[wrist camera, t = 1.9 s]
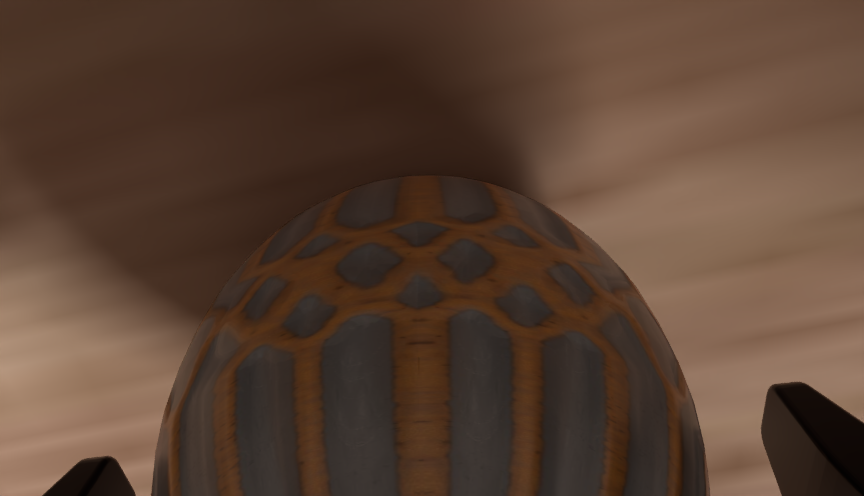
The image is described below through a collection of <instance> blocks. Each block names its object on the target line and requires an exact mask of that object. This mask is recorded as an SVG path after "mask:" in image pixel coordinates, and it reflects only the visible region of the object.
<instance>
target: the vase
mask: <svg viewBox="0 0 864 496" xmlns="http://www.w3.org/2000/svg"><path fill="white" fill-rule="evenodd" d="M151 496H710V488H709V478H708V470H707V463H706V455H705V448H704V443H703V438H702V434H701V430H700V426H699V421H698V417H697V413H696V409H695V405H694V402H693V399H692V396H691V393H690V391H689V388H688V385H687V383H686V380H685V378H684V375H683V373H682V370H681V368H680V365H679V362H678V360H677V358H676V356H675V354H674V352H673V350H672V348H671V346H670V344H669V342H668V340H667V338H666V336H665V334H664V332H663V330H662V328H661V327H660V325H659V323H658V321H657V319H656V318H655V316H654V315H653V313H652V311H651V310H650V308H649V307H648V305H647V303H646V302H645V300H644V299H643V297H642V295H641V294H640V292H639V291H638V289H637V288H636V286H635V285H634V284H633V282H632V281H631V280H630V279H629V277H628V276H627V275H626V274H625V272H624V271H623V270H622V269H621V268H620V267H619V266H618V265H617V264H616V263H615V262H614V261H613V260H612V259H611V258H610V256H609V255H608V254H607V253H606V252H605V251H604V250H603V249H602V248H601V247H600V246H599V245H598V244H597V243H596V242H594V241H593V240H592V239H591V238H590V237H589V236H588V235H586V234H585V233H584V232H582V231H581V230H580V229H578V228H577V227H576V226H574V225H573V224H572V223H570V222H569V221H568V220H566V219H565V218H564V217H562V216H561V215H559V214H558V213H556V212H554V211H553V210H551V209H550V208H548V207H546V206H544V205H542V204H540V203H538V202H536V201H534V200H532V199H530V198H528V197H525V196H523V195H521V194H518V193H516V192H513V191H511V190H508V189H506V188H503V187H500V186H497V185H494V184H490V183H486V182H482V181H478V180H474V179H468V178H462V177H453V176H440V175H418V176H406V177H398V178H392V179H386V180H380V181H376V182H372V183H368V184H365V185H362V186H359V187H356V188H353V189H350V190H347V191H345V192H343V193H340V194H338V195H336V196H333V197H331V198H329V199H327V200H325V201H323V202H321V203H319V204H317V205H315V206H313V207H311V208H309V209H308V210H306V211H304V212H303V213H301V214H300V215H298V216H296V217H295V218H294V219H292V220H291V221H290V222H288V223H287V224H286V225H284V226H283V227H282V228H280V229H279V230H278V231H277V232H276V233H274V234H273V235H272V236H271V237H269V238H268V239H267V240H266V241H265V242H264V243H263V244H262V245H260V246H259V247H258V248H257V249H256V250H255V251H254V252H253V253H252V254H251V255H250V256H249V258H248V259H247V260H246V261H245V262H244V263H243V264H242V265H241V266H240V268H239V269H238V270H237V271H236V272H235V273H234V274H233V276H232V277H231V278H230V279H229V280H228V282H227V283H226V284H225V286H224V287H223V288H222V290H221V291H220V292H219V294H218V295H217V297H216V299H215V300H214V302H213V304H212V305H211V307H210V309H209V310H208V312H207V314H206V316H205V317H204V319H203V321H202V323H201V324H200V326H199V328H198V330H197V332H196V334H195V336H194V338H193V340H192V342H191V344H190V346H189V349H188V351H187V353H186V355H185V357H184V359H183V362H182V364H181V366H180V368H179V371H178V373H177V376H176V379H175V382H174V385H173V388H172V391H171V393H170V396H169V399H168V402H167V405H166V408H165V411H164V415H163V419H162V424H161V428H160V433H159V438H158V443H157V448H156V453H155V463H154V473H153V483H152V493H151Z"/></svg>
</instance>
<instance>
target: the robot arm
mask: <svg viewBox="0 0 864 496" xmlns="http://www.w3.org/2000/svg"><path fill="white" fill-rule="evenodd" d="M761 434H762V440H763V444H764V447H765V450H766V453H767V455H768V458H769V461H770V464H771V467H772V469H773V472H774V475H775V478H776V480H777V483H778V486H779V489H780V492H781V494H782V496H864V423H863V422H862V421H860V420H859V419H857V418H856V417H854V416H853V415H851V414H850V413H849V412H847V411H846V410H844V409H843V408H841V407H840V406H838V405H837V404H835V403H834V402H832V401H831V400H829V399H828V398H827V397H825V396H824V395H822V394H821V393H819V392H818V391H816V390H815V389H813V388H812V387H810V386H809V385H807V384H805V383H802V382H791V383H781V384H774V385H772V386H771V387H770V388H769V389H768V392H767V396H766V402H765V408H764V414H763V419H762V425H761ZM42 496H136V495H135V492H134V490H133V488H132V486H131V484H130V483H129V481H128V479H127V477H126V476H125V474H124V472H123V470H122V469H121V467H120V465H119V463H118V462H117V460H116V459H114V458H113V457H111V456H103V457H94V458H86V459H83V460H81V461H80V462H78V463H77V464H76V465H75V466H74V467H73V468H72V469H70V470H69V471H68V472H67V473H66V474H65V475H64V476H63V477H62V478H61V479H60V480H59V481H57V482H56V483H55V484H54V485H53V486H52V487H51V488H50V489H49V490H48V491H47V492H46V493H44V494H43V495H42Z"/></svg>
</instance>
